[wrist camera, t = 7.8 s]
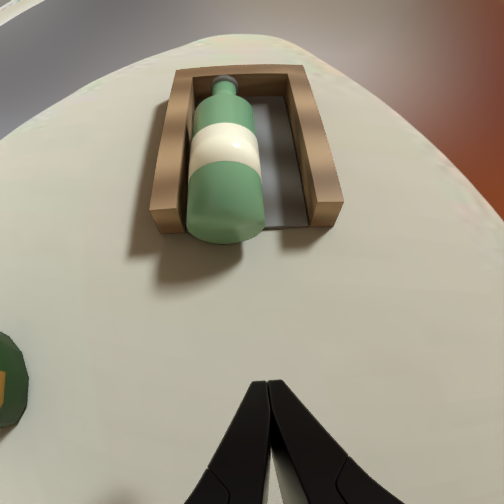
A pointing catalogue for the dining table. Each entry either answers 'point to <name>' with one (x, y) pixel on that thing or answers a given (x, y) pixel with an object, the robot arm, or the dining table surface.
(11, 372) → the bottle
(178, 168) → the cradle
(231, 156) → the bottle
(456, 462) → the dining table surface
